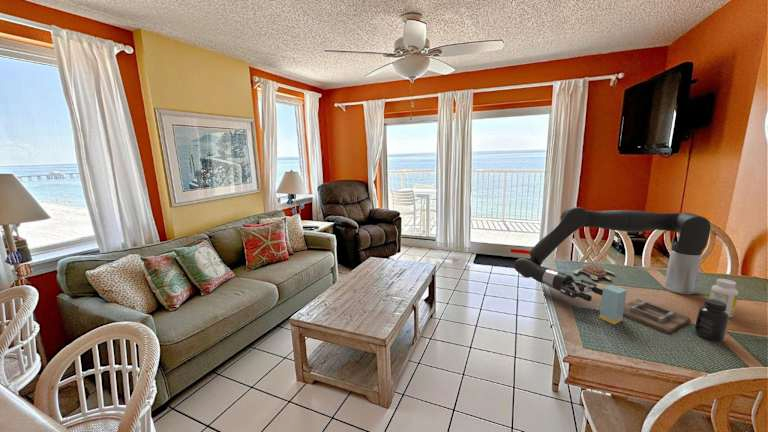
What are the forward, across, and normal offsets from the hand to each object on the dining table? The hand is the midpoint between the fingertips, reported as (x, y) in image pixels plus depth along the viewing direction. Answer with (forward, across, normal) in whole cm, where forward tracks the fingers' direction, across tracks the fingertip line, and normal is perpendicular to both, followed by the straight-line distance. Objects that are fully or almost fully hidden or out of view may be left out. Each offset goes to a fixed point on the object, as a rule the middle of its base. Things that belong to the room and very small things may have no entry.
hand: (598, 296), depth 115 cm
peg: (+5, 0, +7) cm, 9 cm away
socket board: (+11, +15, +7) cm, 19 cm away
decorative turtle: (-22, +35, +8) cm, 42 cm away
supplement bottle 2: (+26, +17, +7) cm, 31 cm away
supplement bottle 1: (+22, +38, +7) cm, 45 cm away
